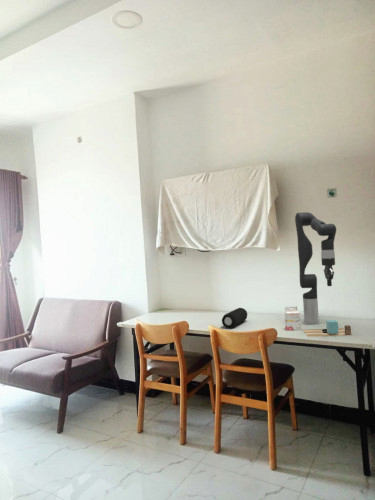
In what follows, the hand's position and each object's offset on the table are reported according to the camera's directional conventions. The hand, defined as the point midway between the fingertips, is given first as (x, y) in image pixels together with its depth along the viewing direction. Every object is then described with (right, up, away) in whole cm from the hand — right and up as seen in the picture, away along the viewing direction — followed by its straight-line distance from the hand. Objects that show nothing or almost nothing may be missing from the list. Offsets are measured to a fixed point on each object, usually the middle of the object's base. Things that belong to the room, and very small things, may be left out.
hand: (329, 285), depth 213 cm
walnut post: (+8, -28, -7) cm, 30 cm away
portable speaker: (-52, -31, +36) cm, 70 cm away
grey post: (0, -29, -4) cm, 29 cm away
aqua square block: (0, -27, -4) cm, 27 cm away
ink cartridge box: (-18, -30, +12) cm, 37 cm away
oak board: (-2, -29, 0) cm, 29 cm away
